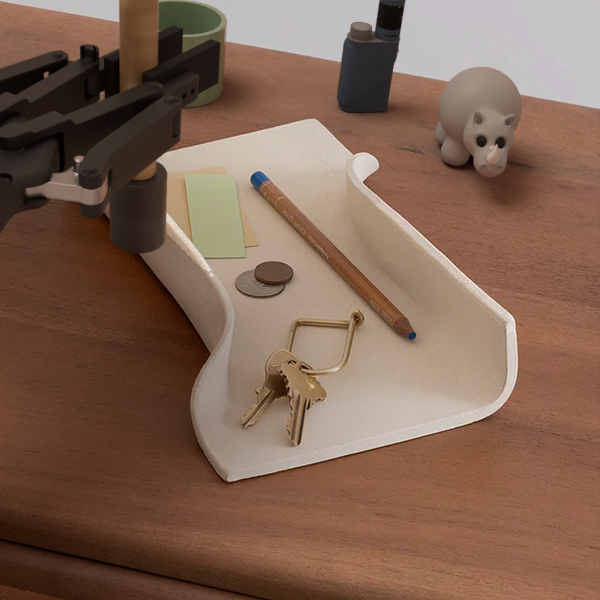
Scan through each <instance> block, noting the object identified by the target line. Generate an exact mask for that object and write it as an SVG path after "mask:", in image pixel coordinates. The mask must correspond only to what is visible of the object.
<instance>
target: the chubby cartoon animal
mask: <svg viewBox="0 0 600 600" xmlns="http://www.w3.org/2000/svg"><path fill="white" fill-rule="evenodd" d="M522 112H523V103H522V96H521V93H520V91H519V89H518V87H517V85H516V84H515V82H514V81H513V79H512V78H510V77H509V75H507V74H506V73H504V72H503V71H500V70H499V69H496V68H494V67H490V66H473V67H470V68H466V69H464V70H462V71H460V72H458V73H457V74H455V75H454V76H453V77H451V79H450V80H448V81H447V83H446V85H445V86H444V88H443V90H442V92H441V94H440V96H439V101H438V112H437V113H438V118H439V120H438V122H437V124H436V127H435V130H434V139H435V141H436V142H438V143H439V144H440V145H441V148H440V153H439V154H440V155H439V156H440V159H441V160H442V161H443V162H445V163H446V164H448V165H451V166H453V167H454V166H455V167H459V166H463V165H465V164H466V163H467V162H468V161H469V159H470V156H472V157H473V166H474V169H475V170H476V172H477V173H478V174H479V175H481V176H483V177H486V178H495V177H497V176H500V175H501V174H502V173H503V172H504V171H505V169H506V168H507V163H508V153H509V151H510V149H511V148H512V146H513V143H514V139H515V131H516V130H517V128H518V126H519V124H520V121H521V117H522Z"/></svg>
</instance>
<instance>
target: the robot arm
mask: <svg viewBox="0 0 600 600" xmlns="http://www.w3.org/2000/svg"><path fill="white" fill-rule="evenodd" d="M182 50H183V29H182V28H180V27H177V26H174V25H173V26H171V27H169V28H167V29H164V30H162V31H160V32H158V65H157V66H156V67H154V68H152V69H149V70H147V71H145V72H143V73H142V84H141V85H138V86H136V87H133V88H131V89H128V90H126V91H123V92H121V93H120V60H119V48H117V49H115V50H112V51H109V52H108V53H106V54H103V55H101V56H100V48H99V47H98V45H95V44H89V43H88V44H87V43H86V44H85V43H84V44H81V45H79V58H78V59H76V60H71V59H70V60H69V53H67V52H66V51H64V50H52V51H49V52H45V53H42V54H39V55H36V56H34V57H31V58H27V59H25V60H21V61H19V62H15V63H12V64H9V65H7V66H4V67H1V68H0V234H2V232H3V230H4V229H5V227H6V226H7V224H8V223H9V221H10V220H11V219H12V218H13V217H14V216H15V215H18V214H21V213H23V212H28V211H33V210H37V209H38V210H39V209H41V208H43V207H45V206H46V205H47V204H49V202H50V201H51V200H58V201H64V202H65V201H66V202H71V203H72V202H74V203H78V209H79V210H78V211H79V214H80V216H82V217H84V218H87V219H95V218H99V217H102V216H103V214H104V213H105V210H106V208H107V206H108V204H109V199H110V197H111V196H112V195H113V194H114V193H115V192H117V191H118V190H119V189H120V188H122V187H123V186H124V185H125V184H127V183H128V182H129V181H130V180H132V179H133V178H134V177H135V176H137V175H138V174H139V173H141V172H142V171H143V170H144V169H146V168H147V167H148V166H149V165H151V164H152V163H153V162H154V161H157V160H158V159H159V158H161V157H162V156H163V155H164V154H166V153H167V152H168V151H170V150H171V149H172V148H173V147H175V146H176V145H177V144H178V143H179V142H180V141H181V135H182V133H181V131H182V109H183V107H185V106H187V105H188V104H189V103H192V102H194V101H196V99H197V98H198V94H200V93H201V92H203V91H205V90H207V89H209V88H210V87H212V86H214V85H216V84H218V80H219V61H220V42H217V41H215V40H212V39H210V40H208V41H206V42H204V43H202V44H200V45H198V46H196V47H194V48H192V49H190V50H188V51H186V52H184V53H182ZM46 73H47V76H46V77H45V74H46ZM102 92H104V99H101V93H102Z"/></svg>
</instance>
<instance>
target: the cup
mask: <svg viewBox="0 0 600 600" xmlns="http://www.w3.org/2000/svg"><path fill="white" fill-rule="evenodd" d="M173 25H174V26H177V27H180V28H182V29H183V50H182V53H184V52H186V51H188V50H190V49H192V48H194V47H196V46H198V45H200V44H202V43H204V42H206V41H208V40H210V39H212V40H215V41H217V42H220V61H219V80H218V84H216V85H214V86H212V87H210V88H209V89H207V90H205V91H203V92H201V93H200V94H198V98H197V99H196V101H194V102H192V103H189V104H188V105H187V106H185V107H183V108H184V109H186V108H187V109H188V108H196V107H201V106H205V105H208V104H211V103H213V102H215V101H216V100H218V99H219V98H220V97H221V95H222V94H223V91H224V90H223V89H224V83H225V68H226V67H225V66H226V48H227V32H228V31H227V30H228V19H227V17H226V15H225V14H224V13H223V12H222V11H221V10H220V9H218V8H216V7H215V6H212V5H210V4H207V3H204V2H200V1H196V0H159V21H158V32H160V31H162V30H164V29H167V28H169V27H171V26H173ZM183 108H182V109H183Z"/></svg>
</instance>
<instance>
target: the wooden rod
mask: <svg viewBox="0 0 600 600" xmlns="http://www.w3.org/2000/svg"><path fill="white" fill-rule="evenodd" d="M158 21H159V0H118V22H119V23H118V26H119V27H118V28H119V29H118V34H119V35H118V39H119V40H118V43H119V45H118V46H119V48H118V49H119V60H120V93H121V92H123V91H126V90H128V89H131V88H133V87H136V86H138V85H141V84H142V73H143V72H145V71H147V70H149V69H152V68H154V67H156V66H157V65H158ZM167 202H168V171H167V168H166V167H165V166H164V164H162V163H161V162H158V161H157V160H156V161H154V162H153V163H152V164H151V165H149V166H148V167H147V168H146V169H144V170H143V171H142V172H141V173H139V174H138V175H137V176H135V177H134V178H133V179H132V180H130V181H129V182H128V183H127V184H125V185H124V186H123V187H122V188H120V189H119V190H118V191H117V192H115V193H114V194H113V195H112V196H111V197H110V199H109V202H108V204H109V205H108V206H109V207H108V209H109V210H108V211H109V212H108V213H109V215H108V216H109V240H110V243H111V245H113V246H114V247H115V248H116V249H118V250H120V251H123V252H124V253H125V252H126V253H128V254H129V253H130V254H147V253H151V252H154V251H157V250H158V249H160V248H162V247H163V246H164V244H165V242H166V238H167V209H168V207H167V206H168V205H167Z"/></svg>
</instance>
